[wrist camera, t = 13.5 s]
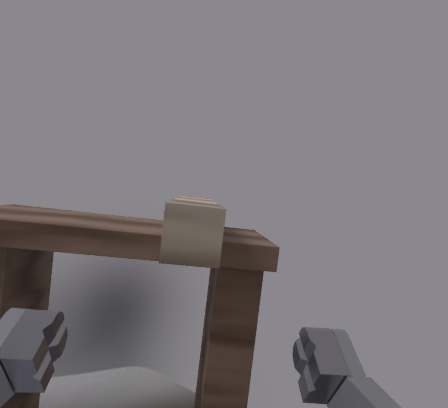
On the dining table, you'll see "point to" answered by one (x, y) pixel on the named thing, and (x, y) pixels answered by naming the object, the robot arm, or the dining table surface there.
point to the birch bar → (192, 232)
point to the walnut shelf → (143, 250)
